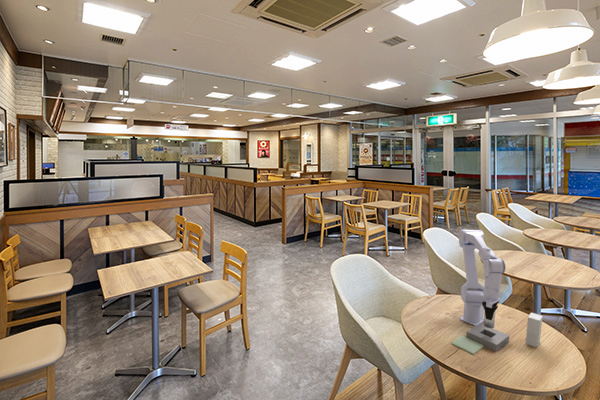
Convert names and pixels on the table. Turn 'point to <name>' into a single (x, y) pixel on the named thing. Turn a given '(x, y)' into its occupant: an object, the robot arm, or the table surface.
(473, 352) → the mat
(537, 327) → the skincare box
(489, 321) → the plug
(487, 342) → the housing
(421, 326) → the table surface
